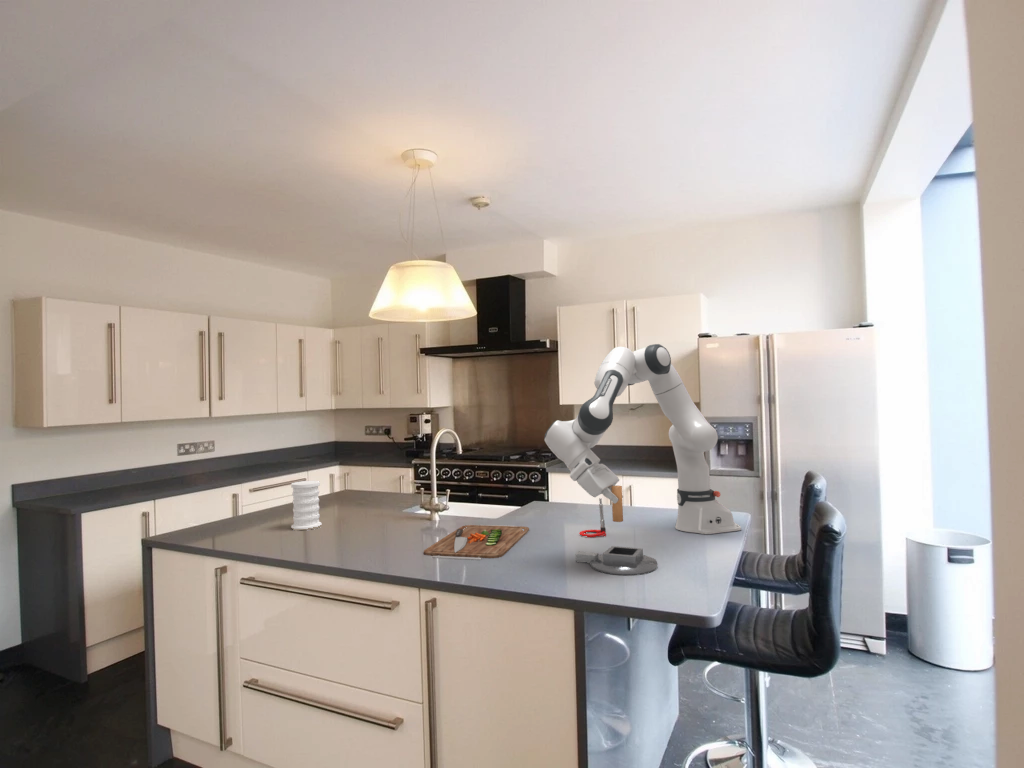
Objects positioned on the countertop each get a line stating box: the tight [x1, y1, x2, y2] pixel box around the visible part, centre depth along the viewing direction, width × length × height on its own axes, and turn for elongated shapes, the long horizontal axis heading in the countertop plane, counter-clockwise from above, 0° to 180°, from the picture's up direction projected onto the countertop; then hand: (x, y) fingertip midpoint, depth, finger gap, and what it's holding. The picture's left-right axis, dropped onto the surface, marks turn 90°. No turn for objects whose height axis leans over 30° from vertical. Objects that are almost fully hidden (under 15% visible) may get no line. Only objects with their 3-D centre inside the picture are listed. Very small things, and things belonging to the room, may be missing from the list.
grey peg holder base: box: [575, 545, 658, 576], centre depth 169 cm, size 19×24×4 cm
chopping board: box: [423, 524, 530, 561], centre depth 202 cm, size 45×27×3 cm, turn 164°
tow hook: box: [578, 497, 607, 538], centre depth 206 cm, size 8×13×9 cm
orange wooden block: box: [611, 485, 624, 523], centre depth 169 cm, size 3×3×10 cm
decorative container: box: [290, 480, 323, 529], centre depth 233 cm, size 12×12×18 cm
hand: (619, 500), depth 168 cm, fingers closed on orange wooden block, 3 cm apart
